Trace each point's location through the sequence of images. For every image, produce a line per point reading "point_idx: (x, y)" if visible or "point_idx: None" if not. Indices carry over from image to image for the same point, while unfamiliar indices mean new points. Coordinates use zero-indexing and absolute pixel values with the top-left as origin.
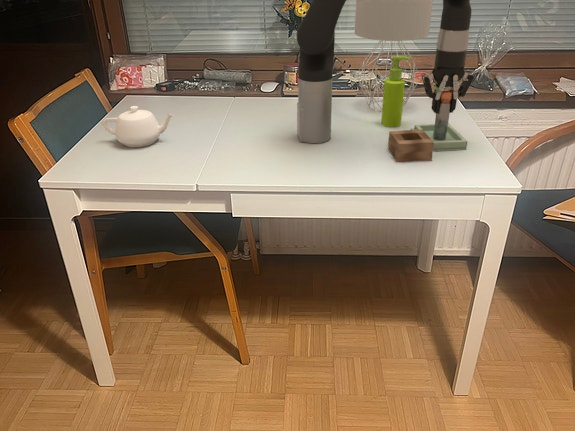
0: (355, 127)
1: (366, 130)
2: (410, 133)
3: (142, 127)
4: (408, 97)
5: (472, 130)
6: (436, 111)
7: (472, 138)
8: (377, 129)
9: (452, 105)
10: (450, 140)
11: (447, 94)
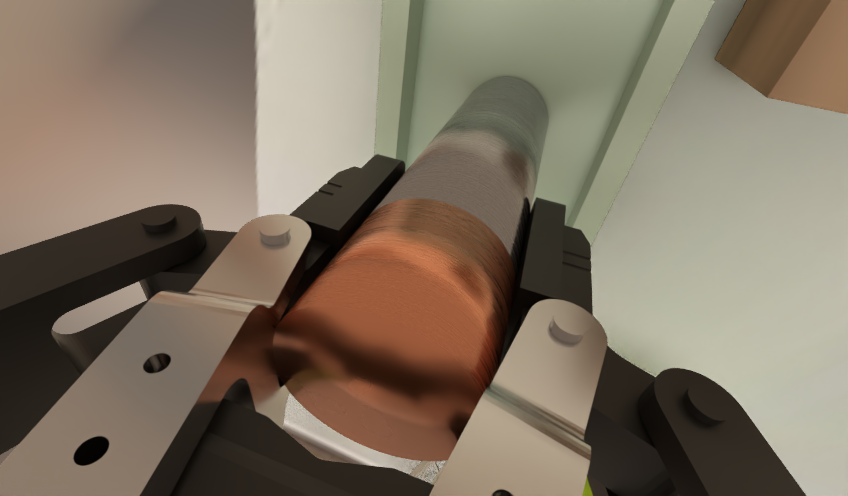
0: (805, 439)
1: (789, 395)
2: None
3: None
4: (416, 475)
5: (272, 175)
6: (558, 209)
7: (303, 79)
8: (717, 377)
9: (362, 189)
10: (456, 57)
11: (401, 298)
